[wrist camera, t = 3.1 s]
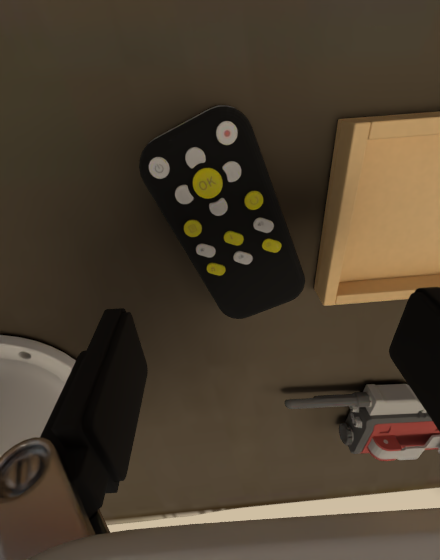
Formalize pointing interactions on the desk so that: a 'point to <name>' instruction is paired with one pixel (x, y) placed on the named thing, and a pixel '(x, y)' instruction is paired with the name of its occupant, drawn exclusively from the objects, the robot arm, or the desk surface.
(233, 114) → the remote control
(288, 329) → the desk surface
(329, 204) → the tray
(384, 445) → the walkie-talkie
